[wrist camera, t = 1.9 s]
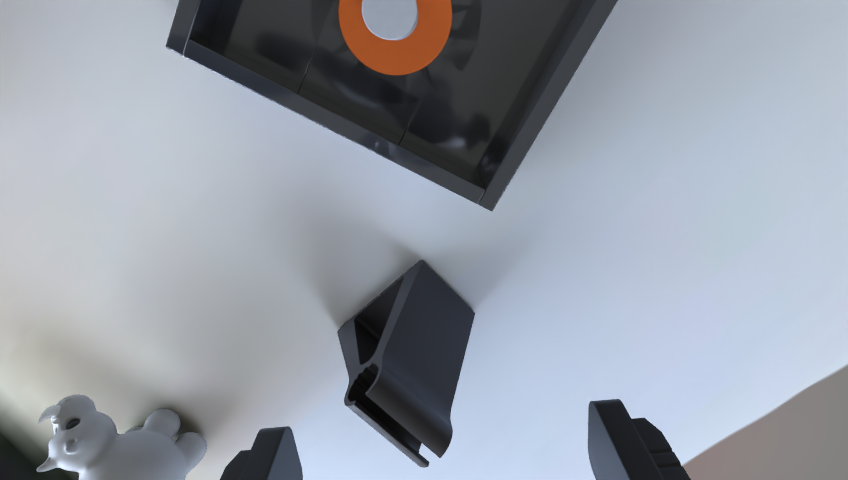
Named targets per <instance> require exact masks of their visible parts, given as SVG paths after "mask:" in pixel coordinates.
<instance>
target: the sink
mask: <svg viewBox="0 0 848 480" xmlns="http://www.w3.org/2000/svg"><path fill="white" fill-rule="evenodd" d="M581 1H582V0H451V4H452V24H451V29H450V33H449V36H448V39H447V41H446V44H445V45H444V47H443V49H442V50H441V52H440V53H439V54H438V56H437V57H436V58H435V59H434V60H433V61H432V62H431V63H429V64H428V65H427V66H426V67H424V68H422V69H420V70H418V71H416V72H413V73H410V74H406V75H388V74H383V73H380V72H377V71H375V70H372V69H371V68H369V67H367V66H366V65H364V64H363V63H362V62H361V61H359V60H358V59H357V58H356V57H355V55H354V54H353V53H352V52H351V50H350V49H349V47H348V46H347V44H346V42H345V40H344V37H343V35H342V32H341V28H340V24H339V14H338V8H339V0H223V3H222V6H221V9H220V12H219V15H218V18H217V21H216V24H215V27H214V30H213V34H212V37H211V39H212V40H214V41H216V42H218V43H220V44H222V45H224V46H226V47H228V48H230V49H231V50H233V51H235V52H237V53H239V54H241V55H243V56H245V57H247V58H249V59H251V60H253V61H255V62H257V63H259V64H261V65H263V66H265V67H267V68H268V69H270V70H272V71H274V72H276V73H278V74H280V75H282V76H284V77H286V78H288V79H290V80H292V81H294V82H296V83H298V84H300V85H302V86H304V87H305V88H307V89H309V90H311V91H313V92H315V93H317V94H319V95H321V96H323V97H325V98H327V99H329V100H331V101H333V102H335V103H337V104H339V105H341V106H342V107H344V108H346V109H348V110H350V111H352V112H354V113H356V114H358V115H360V116H362V117H364V118H366V119H368V120H370V121H372V122H374V123H376V124H378V125H379V126H381V127H383V128H385V129H387V130H389V131H391V132H393V133H395V134H397V135H399V136H401V137H403V138H405V139H407V140H409V141H411V142H413V143H415V144H416V145H418V146H420V147H422V148H424V149H426V150H428V151H430V152H432V153H434V154H436V155H438V156H440V157H442V158H444V159H446V160H448V161H450V162H452V163H453V164H455V165H457V166H459V167H461V168H463V169H465V170H467V171H469V172H471V173H473V174H475V175H477V176H479V177H480V178H481V176H482V175H483V173H484V171H485V169H486V168H487V166H488V164H489V162H490V161H491V159H492V157H493V155H494V154H495V152H496V150H497V148H498V147H499V145H500V143H501V141H502V140H503V138H504V136H505V134H506V133H507V131H508V129H509V127H510V126H511V124H512V122H513V120H514V119H515V117H516V115H517V113H518V112H519V110H520V108H521V106H522V105H523V103H524V101H525V99H526V98H527V96H528V94H529V92H530V91H531V89H532V87H533V85H534V84H535V82H536V80H537V78H538V77H539V75H540V73H541V71H542V70H543V68H544V66H545V64H546V63H547V61H548V59H549V57H550V56H551V54H552V52H553V50H554V49H555V47H556V45H557V43H558V42H559V40H560V38H561V36H562V35H563V33H564V31H565V29H566V27H567V26H568V24H569V22H570V20H571V19H572V17H573V15H574V13H575V12H576V10H577V8H578V6H579V5H580V3H581Z"/></svg>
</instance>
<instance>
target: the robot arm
mask: <svg viewBox="0 0 848 480" xmlns="http://www.w3.org/2000/svg"><path fill="white" fill-rule="evenodd" d="M588 453H589V459H590V463H591V467H592V470H593V473H594V476H595V478H596V480H691V479H690V478H689V476H688V474H687V473H686V471H685V470H684V468H683V466H681V464H680V461H679V460H678V458H677V457H676V455H675V453H674V452H672V448H671V447H670V445H669V443H668V442H667V440H666V439H665V437H664V435H663V434H662V432H661V431H660V430H659V429H657V428H656V427H655V426H654V425H652V424H651V423H650V422H649V421H647V420H646V419H645V418H636V419H631V417H630V416H629V414H628V412H627V410H626V408H625V407H624V405H623V403H622V402H621V400H619V399H612V400H601V401H591V402H590V403H589V417H588ZM220 480H303V474H302V467H301V463H300V460H299V456H298V452H297V448H296V444H295V440H294V436H293V433H292V430H291V428H290V427H288V426H287V427H275V428H264V429H261V430H260V431H259V432H258V434H257V437H256V439H255V441H254V444H253V446H252V448H251V450H244V451H240V452H239V453H238V454H237V455H236V456H235V458H234V459H233V460H232V461H231V462H230V463H229V464H228V465H227V466H226V468H225V470H224V472H223V474H222V476H221V478H220Z"/></svg>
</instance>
